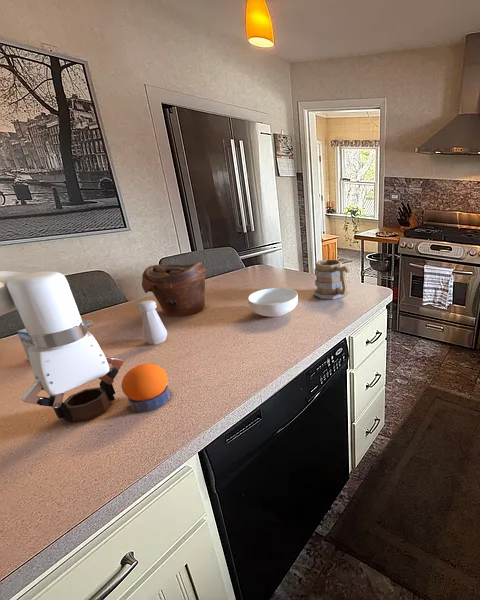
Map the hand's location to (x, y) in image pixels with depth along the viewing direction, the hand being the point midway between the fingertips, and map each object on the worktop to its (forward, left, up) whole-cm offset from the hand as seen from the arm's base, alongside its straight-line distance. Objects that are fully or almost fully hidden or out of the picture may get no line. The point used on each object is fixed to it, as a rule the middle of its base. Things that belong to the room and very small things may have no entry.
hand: (89, 407), depth 70 cm
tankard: (+82, -2, -1) cm, 82 cm away
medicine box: (+4, +35, -1) cm, 35 cm away
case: (+42, +37, -1) cm, 56 cm away
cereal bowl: (+57, +6, -1) cm, 57 cm away
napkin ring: (0, 0, -1) cm, 1 cm away
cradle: (+8, -8, -1) cm, 11 cm away
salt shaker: (+24, +20, -1) cm, 31 cm away
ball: (+8, -8, +4) cm, 12 cm away
